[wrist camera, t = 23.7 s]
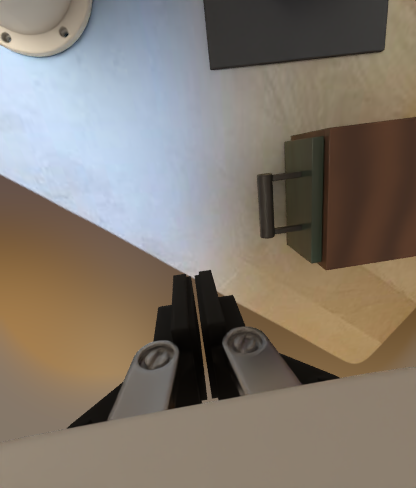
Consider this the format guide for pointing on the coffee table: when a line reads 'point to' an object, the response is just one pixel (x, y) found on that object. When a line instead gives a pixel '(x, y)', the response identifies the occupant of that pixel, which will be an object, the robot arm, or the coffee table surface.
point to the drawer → (297, 198)
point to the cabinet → (368, 192)
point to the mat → (291, 30)
